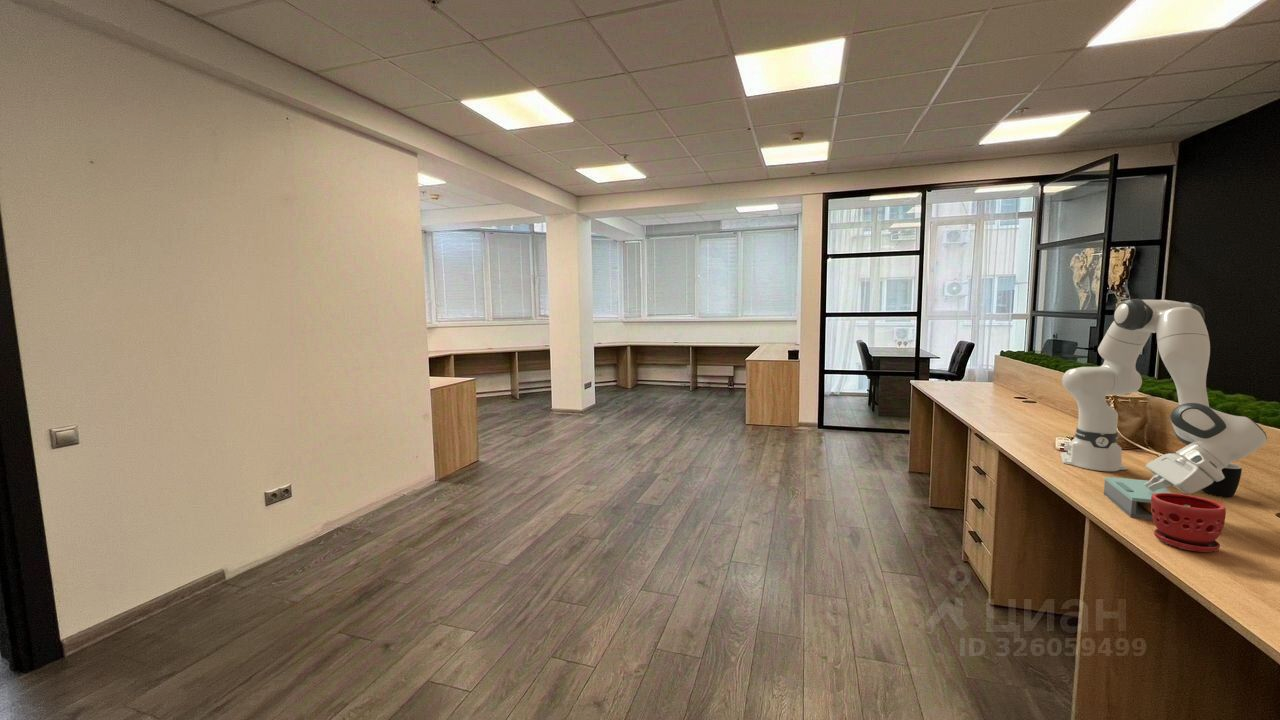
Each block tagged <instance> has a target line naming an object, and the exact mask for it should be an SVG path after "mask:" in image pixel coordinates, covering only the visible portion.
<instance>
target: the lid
mask: <svg viewBox="0 0 1280 720" xmlns="http://www.w3.org/2000/svg"><path fill="white" fill-rule="evenodd" d="M1105 480H1106V481H1107V482H1109V483H1110V484H1111V485H1112V486H1114V487H1115V488H1116V489H1118V490H1119V491H1120V492H1121V493H1123V494H1124V495H1125V496H1126V497H1128V498H1129V499H1130V500H1132V501H1138V502H1147V503H1151V496H1152V495H1153V494H1156V493H1173V492H1172V491H1170V490H1169V489H1168V488H1162V489H1158V490H1156V491H1155V492H1152V491H1151V490H1149V489H1148V488H1147V487H1145V486H1144V484H1145V483H1147V482H1149V481H1150V480H1147V479H1146V480H1145V479H1133V478H1126V477H1125V478H1124V477H1115V476H1114V477H1113V476H1112V477H1110V476H1105V477H1104V481H1105ZM1184 506H1187V507H1190V506H1189V505H1184Z"/></svg>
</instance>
